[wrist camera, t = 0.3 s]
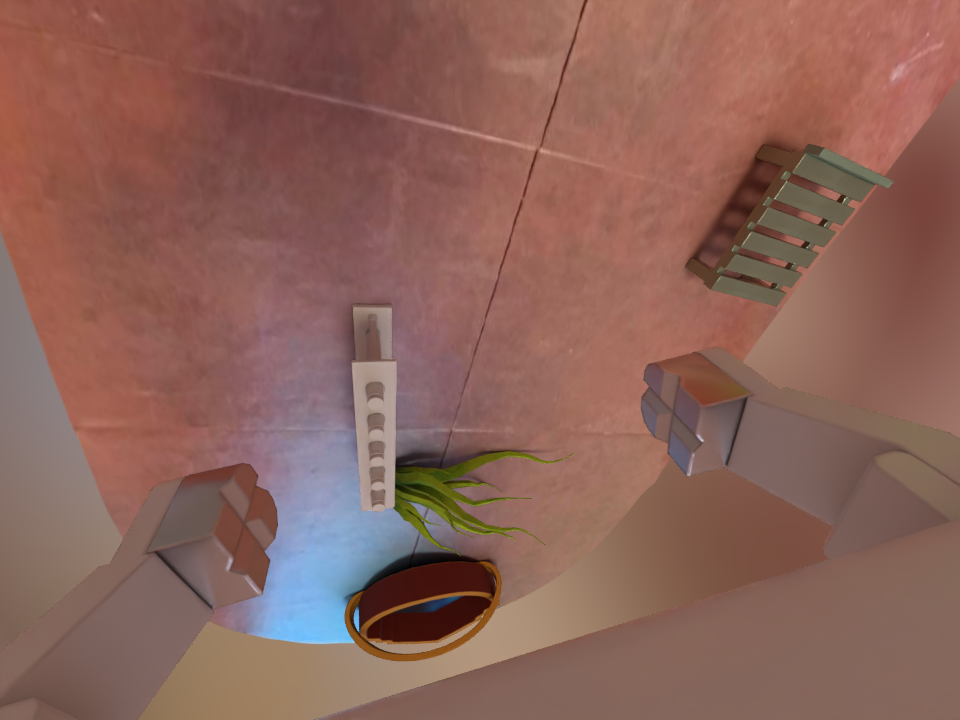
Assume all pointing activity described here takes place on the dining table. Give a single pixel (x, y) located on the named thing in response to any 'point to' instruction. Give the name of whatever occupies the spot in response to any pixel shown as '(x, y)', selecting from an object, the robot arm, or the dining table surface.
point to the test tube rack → (375, 404)
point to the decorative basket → (424, 607)
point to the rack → (789, 222)
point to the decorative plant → (446, 494)
